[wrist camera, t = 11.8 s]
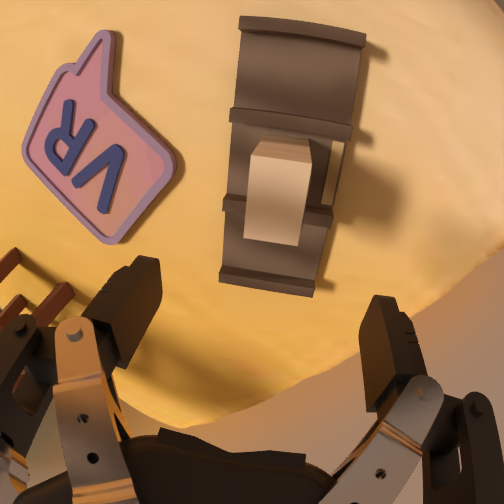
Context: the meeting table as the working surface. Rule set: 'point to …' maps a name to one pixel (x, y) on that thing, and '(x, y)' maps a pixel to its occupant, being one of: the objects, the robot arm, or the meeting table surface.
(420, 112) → the meeting table surface
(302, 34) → the notched ledge
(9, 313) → the stool
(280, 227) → the oak block
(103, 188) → the icon
